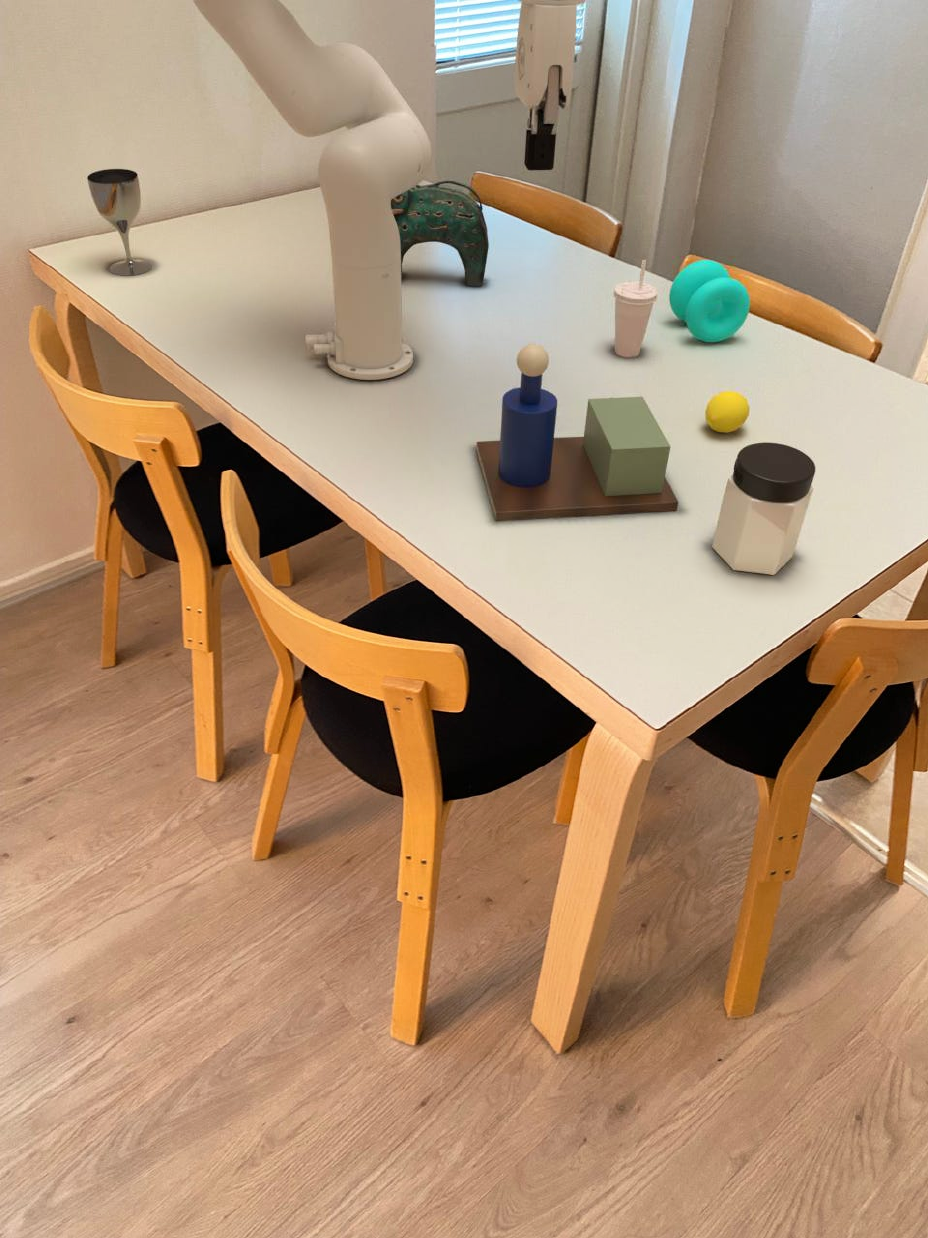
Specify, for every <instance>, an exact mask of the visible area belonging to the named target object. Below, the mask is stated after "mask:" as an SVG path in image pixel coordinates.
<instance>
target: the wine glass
mask: <svg viewBox="0 0 928 1238" xmlns="http://www.w3.org/2000/svg"><path fill="white" fill-rule="evenodd" d="M86 180H87V184H88V189H89V191H90V192H89V193H90V196H91V198H92V202H93V204H94V206H95V208H96V211H97V212H98V213H99V216H101V217H102V219H104V220H105V221H106V222H107V223H108V224H110V225H111V226H112V227H113V228H114V229H115V230H116V231H117V232H118V234H119V236H120V238H121V241H122V244H123V247H124V251H125V257H126V259H123V260H120V261H117V262H115V263H113V264H111V265H110V266H109V272H111V273H112V274H114V275H117V276H125V277H126V276H127V277H128V276H137V275H142V274H145V273H148V272H149V271H150V270H152V268H153V264H152V262H150V261H148V260H144V259H133V258H132V254H131V248H130V239H129V236H130V230H131V227H132V225H133V224H134V223H135V220H136V219H137V217H138V216H139V214H140V211H141V203H142V197H141V196H142V195H141V194H142V193H141V185H140V178H139V174H138V173H137V172H136V171H134V170H131V169H127V168H108V169H102V170H101V169H100V170H97V171H94V172H91V173H90V174H88V176H87V177H86Z"/></svg>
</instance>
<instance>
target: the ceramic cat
mask: <svg viewBox="0 0 928 1238" xmlns="http://www.w3.org/2000/svg"><path fill="white" fill-rule="evenodd" d="M447 184H451V185H456V186H458V187H462V188H465V189H467V190H469V191H470V192H471V193H472V194H473V195H474V196H475V197H476V199H477V200H478V201H476V199H475V198H474V197H473V196H472V195H470V194H469V193H468V192H467V191H465V190H463V189H461V188H458V187H455V186H451V185H447ZM391 209H392V213H393V215H394V218H395V221H396V223H397V226H398V229H399V234H400V245H401V276H402V274H403V262H404V258H405V255H406V254H407V253H408V252H409V250H410V249H411V248H412V247H413V246H414V245H418V244H423V243H441V244H444V245H447V246H450V247H451V248H453V249H454V250H456V251H457V253H458V255H459V258H460V259H461V264H462V265H463V266H462V267H463V270H464V284H465V286H467V287H475V288H476V287H483V284H484V279H485V273H486V266H487V260H488V254H489V249H490V247H489V246H490V243H489V242H490V241H489V234H488V226H487V223H486V219H485V215H484V212H483V209H484V208H483V204H482V200H481V198H480V196H479V194H478V193H477V192H476V190H475V189H474V188H473V187H472V186H470V185H468V184H466V183H464V182H460V181H456V180H441V181H438V182H435V183H431V184H423V185H421V184H418V185H416V186H415V187H413V188H411V189H410V190H408V191H406V192H404V193H402V194H400V195H398V196H396V197H395V198H393V199H392V200H391Z"/></svg>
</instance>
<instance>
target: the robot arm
mask: <svg viewBox="0 0 928 1238" xmlns="http://www.w3.org/2000/svg"><path fill="white" fill-rule="evenodd" d="M192 1H193V3H194V4H195V6H196V8H197V9H198V10H199V12H200V14H201V15H202V16H203V18H204V19H205V20H206V21H207V23H208V24H209V25H210V26H211V27H212V28H213V29H214V31H215V32H216V33H217V34H218V35H219V36H220V38H221V39H222V40H223V41H224V42H225V43H226V44H227V45H228V47H229V48H230V49H231V50H232V51H233V53H234V54H235V55H236V56H237V58H238V59H239V60H240V61H241V64H243V66H244V67H245V69H246V70H247V72H248V73H249V74H250V76H251V78H253V80H254V81H255V83H256V84H257V85H258V87H259V88H260V89H261V90H262V92H263V94H265V96H266V97H267V98H268V100H269V101H270V103H271V104H272V105H273V107H274V108H275V109H276V111H277V112H278V114H279V115H280V116H281V117H282V118H283V120H284V121H285V122H286V123H287V125H288V126H289V127H290V128H291V129H292V130H293V131H294V132H295V133H296V134H298V135H300V136H303V137H306V138H315V137H319V136H323V135H327V134H328V133H331V132H334V131H338V130H339V129H342V128H344V127H345V128H346V129H347V130H345V131H343V132H341V133H339V134H338V135H336V136H335V137H334V138H332V139H331V140H330V141H329V142H328V143H327V144H326V145H325V147H324V148H323V150H322V152H321V155H320V158H319V161H318V169H317V170H318V171H317V172H318V183H319V186H320V191H321V195H322V199H323V202H324V207H325V212H326V216H327V225H328V233H329V244H330V257H331V270H332V271H331V272H332V273H331V274H332V285H333V287H332V288H333V302H334V303H333V304H334V317H335V325H333V331H327V332H326V333H327V334H316V333H315V334H313V333H312V334H305V335H304V336H305V348H306V349H314V355H323V354H327V364H328V366H329V368H330V369H331V370H332V371H334V372H335V373H337V374H338V375H340V376H343V377H345V378H349V379H354V380H361V381H378V380H379V381H380V380H387V379H391V378H394V377H397V376H400V375H401V374H404V373H405V372H407V371H408V370H410V368H411V367H412V366H413V364H414V351H413V349H412V348H411V347H410V346H409V345H408V344H407V343H406V342H403V301H402V300H403V297H402V294H403V293H402V291H403V289H402V275H401V245H400V234H399V229H398V226H397V223H396V221H395V218H394V215H393V213H392V209H391V200H392V199H393V198H395V197H396V196H398V195H400V194H402V193H404V192H406V191H408V190H410V189H411V188H413V187H415V186H416V185H420V184H421V183H422V182H423V181H424V180H425V178H426V177H427V176H428V174H429V173H430V171H431V167H432V163H433V162H432V161H433V151H432V145H431V141H430V139H429V136H428V133H427V132H426V130H425V127H424V126H423V125H422V123H421V121H420V120H419V118H418V117H417V115H416V114H415V113H414V111H413V110H412V108H411V107H410V106H409V104H408V102H406V100H405V99H404V96H402V95H401V93H400V91H399V90H398V89H397V87H396V86H395V84H394V83H393V81H392V80H391V79H390V77H389V76H388V75H387V73H386V72H385V70H384V69H383V68H382V66H381V65H380V64H379V63H378V61H377V60H376V59H375V58H374V57H373V56H372V55H371V54H370V53H369V52H367V51H366V50H365V49H364V48H362V47H361V46H358V45H356V44H354V43H351V42H345V41H344V42H343V41H342V42H334V43H329V44H326V45H322V46H321V45H318V44H317V43H315V42H314V41H313V40H312V39H311V38H310V37H309V36H308V34H307V33H306V32H305V31H304V29H303V28H302V27H301V26H300V24H299V22H298V21H297V20H296V17H294V15H293V14H292V13H291V11H290V10H289V9H288V8H287V7H286V6H285V5H284V4H283V3H282V2H281V1H280V0H192ZM517 1H518V2H520V3H521V4H520V11H519V18H518V28H517V37H516V49H515V61H514V73H513V91H514V92H515V94H516V96H517V97H518V100H520V101H521V103H522V104H523V106H525V108H526V109H527V115H526V118H527V119H526V121H527V122H526V128H527V129H526V130H525V144H524V145H525V146H524V161H523V162H524V163H523V164H524V166H525V168H526V169H527V171H552V170H553V169H554V168H555V167H554V165H555V153H556V141H557V127H558V121H559V111H560V108H561V109H562V110H565V109H566V108H567V107H568V106H569V105H570V103H571V97H572V90H573V81H574V71H575V70H574V68H575V55H576V34H577V14H578V13H577V11H578V10H577V9H578V5H582V4H585V3H586V2H587V0H517Z"/></svg>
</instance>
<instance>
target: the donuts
mask: <svg viewBox="0 0 928 1238" xmlns="http://www.w3.org/2000/svg"><path fill="white" fill-rule="evenodd" d="M668 296H669V297H668V302H669V306H670V308H671V311H672V312H673V314H674V315H675V316H676V317H677V318H678V319H679V320H681V321H683V322H685V324H686V326H687V329H688V331H689V332H690V334H692V336H693V337H694V338H696V339H697V340H700V341H702V342H705V343H718V342H721V341H725V340H726V339H729V338H730V337H732V336H733V335H735V333H737V332H738V331H739V330H740V329H741V327H742V326H743V325H744V323H745V322H746V320H747V317H748V316H749V313H750V307H751V299H750V294H749V292H748V289H747V288H746V287H745V285H744V284H743V283H741V282H740V281H739V280H737V279H734V278H732V277H731V276H730V274H729V272H728V270H727V269H726V267H724V266H723V265H722V264H721V263H720V262H717V261H715V260H711V259H701V260H697V261H694V262H692V263H689V264H688V265H686V266H685V267H684V268H683V269H682V270H681V271H679V273H678V274H677V275H676V276H675V278H674V279H673V282H672V284H671V286H670V290H669V295H668Z"/></svg>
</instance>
